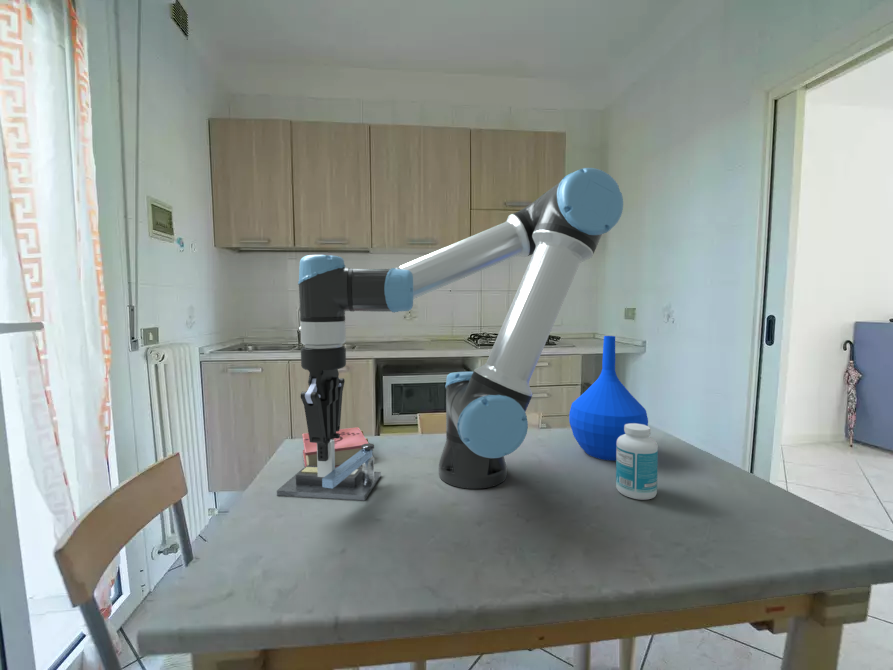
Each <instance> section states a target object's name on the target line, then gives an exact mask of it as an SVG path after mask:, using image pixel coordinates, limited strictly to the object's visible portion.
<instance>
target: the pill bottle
mask: <svg viewBox="0 0 893 670" xmlns="http://www.w3.org/2000/svg"><path fill="white" fill-rule="evenodd" d="M624 431H625V433H626V434H624V435H621V436H620V437H618V439H617V450H616V461H615V463H616V464H615V467H616V468H615V487H616V490H617V491H618V493H620V494H621V495H622V496H625V497H628V498H630V499H633V500H644V501H645V500H650V499H654V498H655V497H656V495H657V493H658V465H659V464H658V463H659V461H658V458H659V457H658V456H659V454H658V453H659V452H658V451H659V446H658V443H657V441H656V440H655V439H654V438H652V437H650V435H651V433H652V432H651V427H650V426H649V425H648V426H646V425H643V424H636V423H630V424H625V426H624Z"/></svg>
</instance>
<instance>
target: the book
mask: <svg viewBox="0 0 893 670" xmlns="http://www.w3.org/2000/svg"><path fill="white" fill-rule="evenodd" d="M336 434H340V437H339V438H334V443H335V467H338V466H340V465H341V464H343V463H344V462H345V461H347V460H348V459H349V458H351V457H352V456H353V455H355V454H356V453H357V452H359V451H360V450H361V446H362V445H363V444H368V443H369V439H368V438H367V437H365V434H364V431H363V430H361V429H360V428H359V427H358V426H357V427H350V428H349V427H347V428H340V430H339V431H336ZM301 438H302V443H303V449H302V455H303V461H304V468H305V467H306V466H307V465H312V466H317V443H312V442H310V440H309V433H308V432H304V433H302V437H301Z"/></svg>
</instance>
